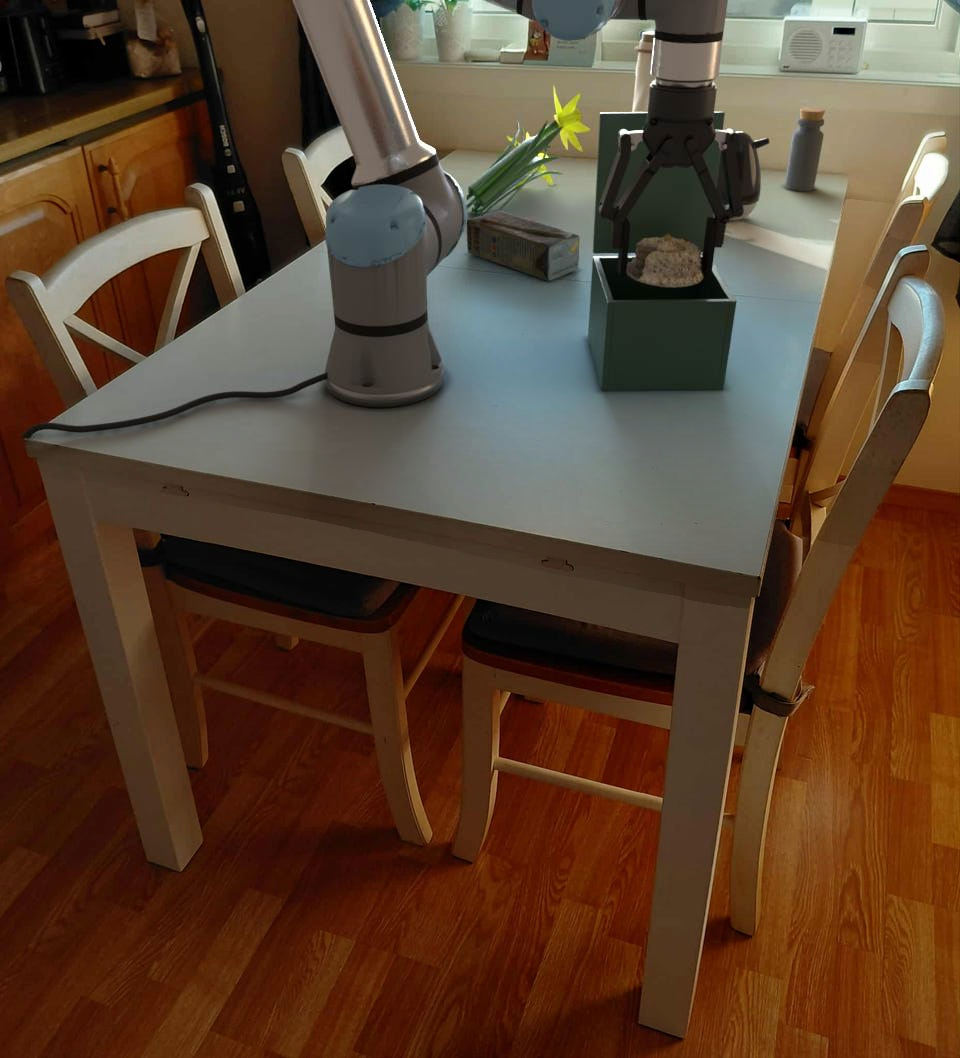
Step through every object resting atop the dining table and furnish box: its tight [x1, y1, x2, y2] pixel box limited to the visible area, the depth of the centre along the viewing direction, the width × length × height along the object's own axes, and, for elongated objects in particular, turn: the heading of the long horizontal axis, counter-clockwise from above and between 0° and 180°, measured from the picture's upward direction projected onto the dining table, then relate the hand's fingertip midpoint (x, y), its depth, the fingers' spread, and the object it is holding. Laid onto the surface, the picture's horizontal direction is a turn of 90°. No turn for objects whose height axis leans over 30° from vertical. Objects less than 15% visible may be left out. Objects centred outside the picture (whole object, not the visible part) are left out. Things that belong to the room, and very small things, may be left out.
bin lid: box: [592, 111, 726, 254], centre depth 127 cm, size 17×16×1 cm
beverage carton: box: [466, 209, 581, 282], centre depth 162 cm, size 8×19×7 cm, turn 45°
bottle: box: [784, 106, 826, 192], centre depth 196 cm, size 6×6×15 cm
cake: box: [626, 234, 704, 288], centre depth 121 cm, size 10×10×5 cm
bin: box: [587, 254, 738, 392], centre depth 128 cm, size 17×16×12 cm
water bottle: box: [631, 30, 656, 112], centre depth 196 cm, size 10×9×28 cm
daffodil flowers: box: [465, 84, 591, 216], centre depth 192 cm, size 17×15×35 cm
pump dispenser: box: [717, 131, 770, 222], centre depth 180 cm, size 10×10×15 cm
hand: (663, 272), depth 123 cm, fingers closed on cake, 10 cm apart
